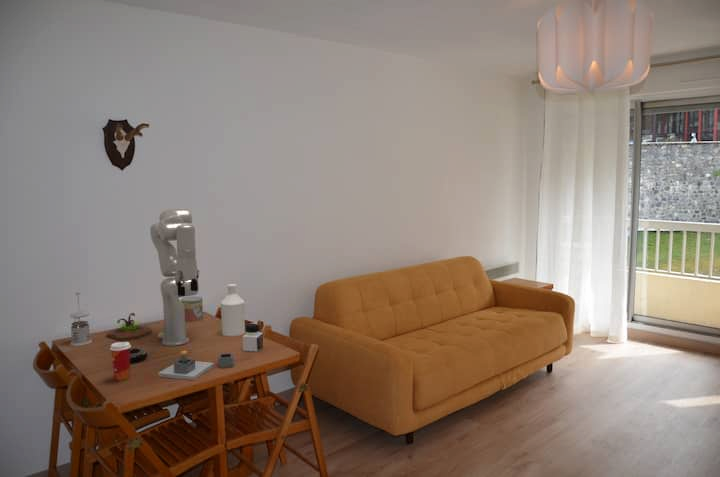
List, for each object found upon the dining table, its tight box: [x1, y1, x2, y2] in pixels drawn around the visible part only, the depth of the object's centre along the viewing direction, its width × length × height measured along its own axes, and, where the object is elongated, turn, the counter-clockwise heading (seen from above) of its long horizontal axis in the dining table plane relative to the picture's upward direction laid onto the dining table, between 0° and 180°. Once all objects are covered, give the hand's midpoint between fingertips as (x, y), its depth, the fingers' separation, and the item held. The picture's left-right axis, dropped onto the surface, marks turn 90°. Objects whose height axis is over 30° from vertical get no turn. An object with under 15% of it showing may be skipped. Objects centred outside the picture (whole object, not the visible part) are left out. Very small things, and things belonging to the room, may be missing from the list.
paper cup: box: [109, 341, 132, 382], centre depth 216 cm, size 8×8×14 cm
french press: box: [69, 291, 93, 347], centre depth 262 cm, size 10×12×25 cm
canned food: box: [180, 295, 204, 323], centre depth 302 cm, size 11×11×12 cm
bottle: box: [220, 283, 246, 337], centre depth 276 cm, size 12×12×25 cm
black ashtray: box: [130, 347, 148, 364], centre depth 239 cm, size 12×12×4 cm
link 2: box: [217, 352, 235, 369], centre depth 232 cm, size 6×6×4 cm
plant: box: [106, 312, 153, 342], centre depth 275 cm, size 20×20×11 cm
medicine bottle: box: [242, 322, 264, 353], centre depth 252 cm, size 7×7×12 cm
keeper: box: [157, 350, 215, 381], centre depth 224 cm, size 16×16×10 cm
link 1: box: [173, 358, 196, 374], centre depth 221 cm, size 6×6×4 cm
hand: (188, 293), depth 232 cm, fingers open, 9 cm apart
